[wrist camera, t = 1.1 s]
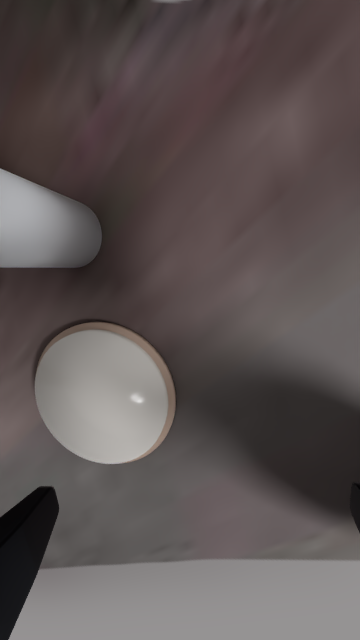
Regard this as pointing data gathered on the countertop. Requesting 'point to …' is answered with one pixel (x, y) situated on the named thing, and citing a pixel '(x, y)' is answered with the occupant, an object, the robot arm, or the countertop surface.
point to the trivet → (105, 393)
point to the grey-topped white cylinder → (44, 227)
